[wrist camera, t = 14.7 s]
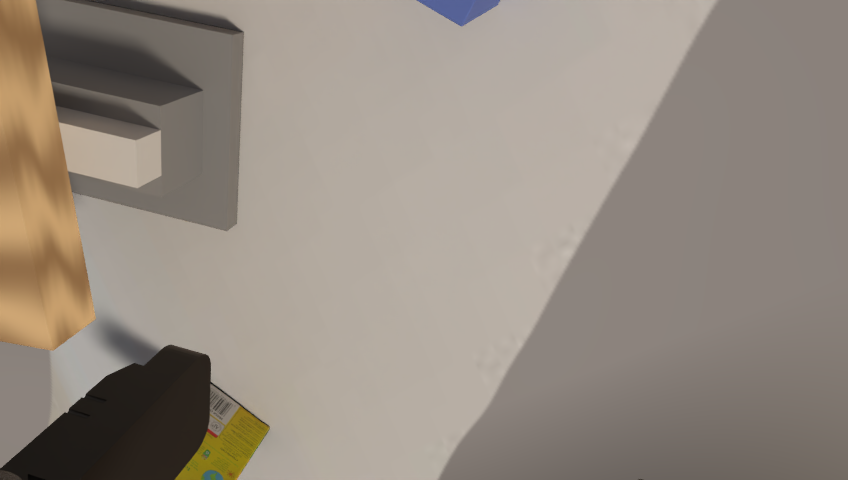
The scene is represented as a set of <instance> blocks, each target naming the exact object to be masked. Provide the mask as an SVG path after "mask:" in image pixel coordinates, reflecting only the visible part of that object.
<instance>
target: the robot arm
mask: <svg viewBox="0 0 848 480" xmlns="http://www.w3.org/2000/svg"><path fill="white" fill-rule="evenodd" d="M210 379H211V362H210V358H209V356H208V355H206V354H202V353H199V352H195V351H192V350H188V349H184V348H181V347H177V346H174V345H168V346H166V347H164V348H163V349H162V350H161V351H160V352H158V353H157V354H156V355H155V356H154V357H153V358H152V359H151V360H150V361H149V362H148V363H147V364H146V365H144V366H142V365H139V364H136V363H134V364H131V365H129V366H127V367H125V368H123V369H120V370H118V371H116V372H114V373H112V374H110V375H107V376H106V377H105V378H104V379H102V380H101V381H100V382H99V383H98V384H97V385H96V386H94V387H93V388H92V389H91V390H90V391H89V392H88V393H86V396H85V398H81V399H80V400H78V401H77V402H76V403H75V404H74V405H73V406H72V407H70V408H69V411H68V413H64V414H62V415H61V416H60V417H59V418H58V419H57V420H56V421H54V422H53V423H52V424H51V425H50V426H49V427H48V428H46V429H45V430H44V431H43V432H42V433H41V434H40V435H38V436H37V437H36V438H35V439H34V440H33V441H32V442H31V443H29V444H28V445H27V446H26V447H25V448H24V449H22V450H21V451H20V452H19V453H18V454H17V455H15V456H14V457H13V458H12V459H11V460H10V461H9V462H7V463H6V464H5V465H4V466H3V467H2V468H0V480H175V479H176V477H177V476H178V475H179V474H180V472H181V471H182V470H183V469H184V467H185V466H186V465H187V464H188V462H189V461H190V460H191V459H192V457H193V456H194V455H195V453H196V452H197V451H198V449H199V448H200V446H201V444H202V442H203V440H204V438H205V435H206V433H207V429H208V425H209V419H210ZM639 480H642V479H639Z"/></svg>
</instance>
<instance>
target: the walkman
mask: <svg viewBox="0 0 848 480" xmlns="http://www.w3.org/2000/svg"><path fill="white" fill-rule="evenodd" d="M417 1H419V2H420V3H422V4H424V5H426V6H427V7H429V8H431V9H432V10H434V11H436V12H437V13H439V14H441V15H443V16H444V17H446V18H448V19H449V20H451V21H453V22H455V23H456V24H458V25H460V26H463V25H465V24H467V23H468V22H470V21H472V20H473V19H475V18H477V17H478V16H480V15H482V14H483V13H485V12H487V11H488V10H490V9H492V8H493V7H495V6H497V5H498V3H499V1H500V0H417Z"/></svg>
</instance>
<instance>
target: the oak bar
mask: <svg viewBox="0 0 848 480" xmlns="http://www.w3.org/2000/svg"><path fill="white" fill-rule="evenodd" d="M95 319H96V318H95V312H94V307H93V302H92V296H91V291H90V286H89V280H88V275H87V270H86V265H85V259H84V254H83V249H82V243H81V238H80V233H79V227H78V222H77V217H76V212H75V206H74V201H73V196H72V190H71V185H70V180H69V174H68V169H67V164H66V158H65V153H64V148H63V143H62V137H61V132H60V127H59V121H58V116H57V111H56V105H55V100H54V95H53V89H52V84H51V79H50V74H49V68H48V63H47V58H46V52H45V47H44V42H43V36H42V31H41V26H40V21H39V15H38V10H37V5H36V0H0V341H2V342H8V343H13V344H19V345H24V346H30V347H36V348H41V349H47V350H52V351H53V350H55V349H56V348H57V347H59V346H60V345H61V344H63V343H64V342H65V341H67V340H68V339H69V338H71V337H72V336H73V335H75V334H76V333H77V332H79V331H80V330H81V329H83V328H84V327H86V326H87V325H88V324H90V323H91V322H92V321H94V320H95Z"/></svg>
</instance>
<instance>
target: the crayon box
mask: <svg viewBox="0 0 848 480" xmlns="http://www.w3.org/2000/svg"><path fill="white" fill-rule="evenodd" d="M269 429H270V427H269V426H268V425H266V424H264V423H262V422H261V421H259V420H258V419H257V418H256V417H254V416H253V415H252V414H250V413H249V412H248V411H246V410H245V409H244V408H242V407H241V406H240V405H238V404H237V403H236V402H235V401H233V400H232V399H231V398H229V397H228V396H227V395H225V394H224V393H223V392H221V391H220V390H219V389H217V388H216V387H214V386H213V385H212V384H210V419H209V425H208V429H207V433H206V435H205V438H204V440H203V442H202V444H201V446H200V448H199V449H198V451H197V452H196V453H195V455H194V456H193V457H192V459H191V460H190V461H189V462H188V464H187V465H186V466H185V467H184V469H183V470H182V471H181V472H180V474H179V475H178V476H177V477H176V479H175V480H237V478H238V477H239V475H240V474H241V472H242V471H243V469H244V468H245V466H246V465H247V463H248V462H249V460H250V459H251V457H252V455H253V454H254V452H255V451H256V449H257V448H258V446H259V445H260V443H261V442H262V440H263V439H264V437H265V436H266V434H267V433H268V431H269Z"/></svg>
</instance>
